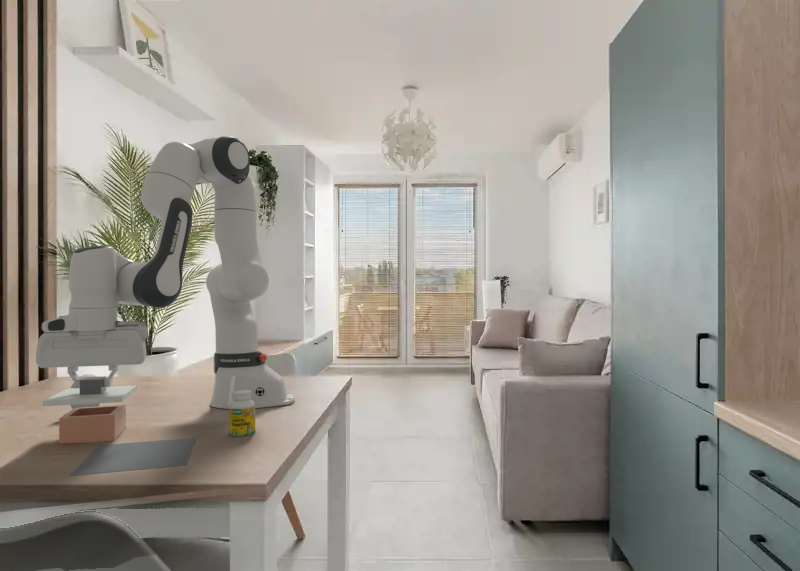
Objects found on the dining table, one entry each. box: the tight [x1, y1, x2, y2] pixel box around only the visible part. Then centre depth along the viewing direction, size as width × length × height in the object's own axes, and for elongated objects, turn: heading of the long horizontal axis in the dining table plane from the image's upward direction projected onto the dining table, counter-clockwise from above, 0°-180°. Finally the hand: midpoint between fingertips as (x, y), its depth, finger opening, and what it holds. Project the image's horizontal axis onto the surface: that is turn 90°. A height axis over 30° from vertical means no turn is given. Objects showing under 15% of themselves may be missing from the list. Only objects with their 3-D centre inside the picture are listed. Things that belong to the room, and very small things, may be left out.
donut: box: [70, 373, 101, 410], centre depth 137 cm, size 10×4×10 cm, turn 168°
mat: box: [69, 437, 198, 477], centre depth 99 cm, size 18×18×1 cm
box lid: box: [42, 376, 138, 407], centre depth 112 cm, size 14×14×4 cm
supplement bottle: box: [228, 390, 256, 437], centre depth 113 cm, size 5×5×10 cm
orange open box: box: [58, 404, 127, 446], centre depth 112 cm, size 10×10×6 cm
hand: (93, 387), depth 112 cm, fingers closed on box lid, 4 cm apart
